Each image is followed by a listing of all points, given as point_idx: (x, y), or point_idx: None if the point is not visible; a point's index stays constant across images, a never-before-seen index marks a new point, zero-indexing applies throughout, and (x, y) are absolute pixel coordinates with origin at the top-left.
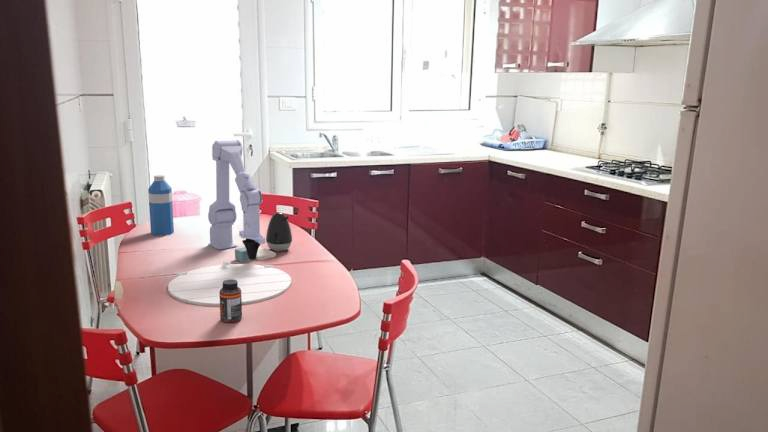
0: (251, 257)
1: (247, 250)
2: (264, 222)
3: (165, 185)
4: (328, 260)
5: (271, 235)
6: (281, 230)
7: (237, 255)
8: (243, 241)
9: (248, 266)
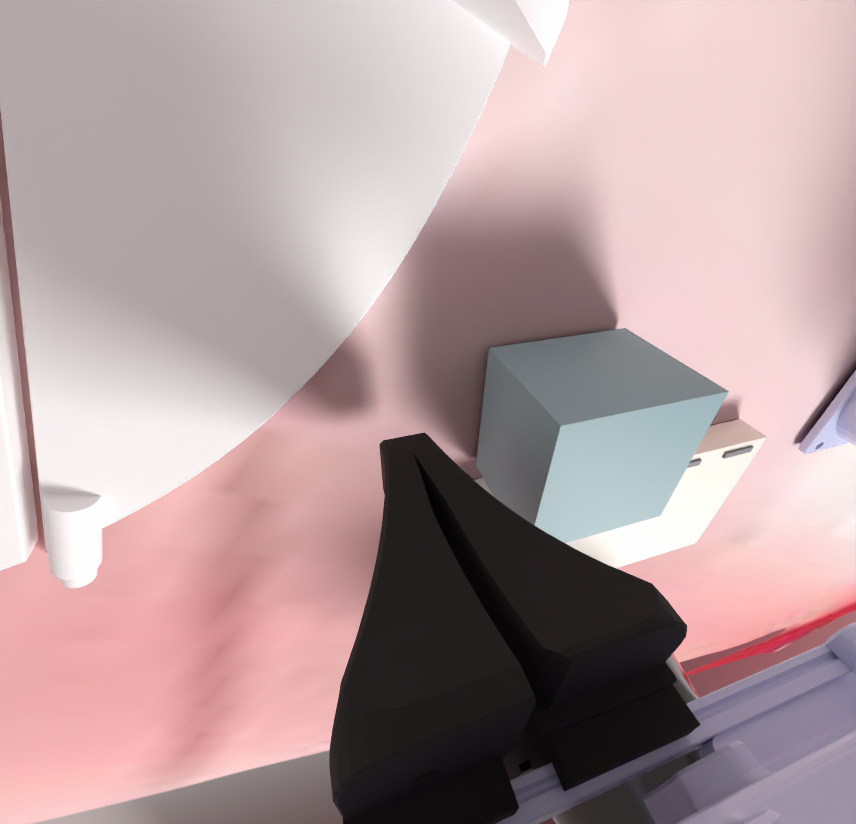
0: (384, 467)
1: (467, 507)
2: (828, 592)
3: None
4: (180, 780)
5: None
6: (577, 819)
7: (615, 361)
8: (618, 638)
9: (206, 335)
